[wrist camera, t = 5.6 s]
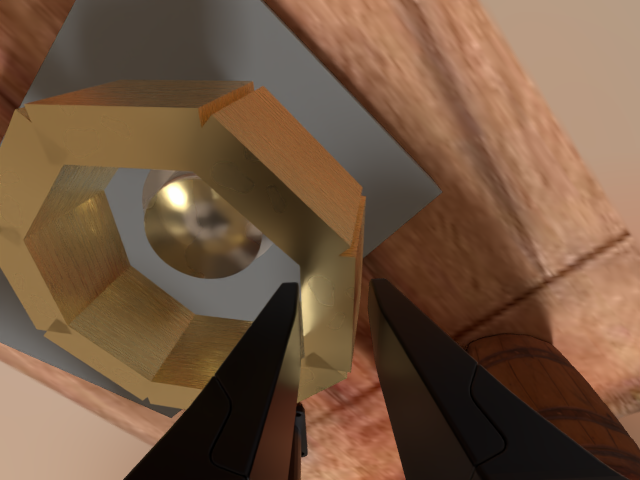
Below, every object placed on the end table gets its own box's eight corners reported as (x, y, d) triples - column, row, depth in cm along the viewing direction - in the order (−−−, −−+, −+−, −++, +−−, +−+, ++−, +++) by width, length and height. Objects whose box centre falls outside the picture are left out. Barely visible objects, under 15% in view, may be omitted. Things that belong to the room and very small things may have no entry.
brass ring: (357, 357, 14) (348, 436, 11) (127, 327, 15) (72, 390, 13) (372, 82, 9) (361, 112, 6) (26, 78, 10) (-97, 101, 8)
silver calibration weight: (289, 218, 18) (284, 289, 14) (188, 222, 18) (147, 294, 13) (282, 114, 16) (272, 157, 11) (163, 118, 16) (102, 163, 11)
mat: (177, 399, 28) (171, 418, 26) (-62, 287, 21) (-85, 305, 20) (433, 180, 19) (442, 191, 18) (157, -112, 13) (141, -125, 12)
